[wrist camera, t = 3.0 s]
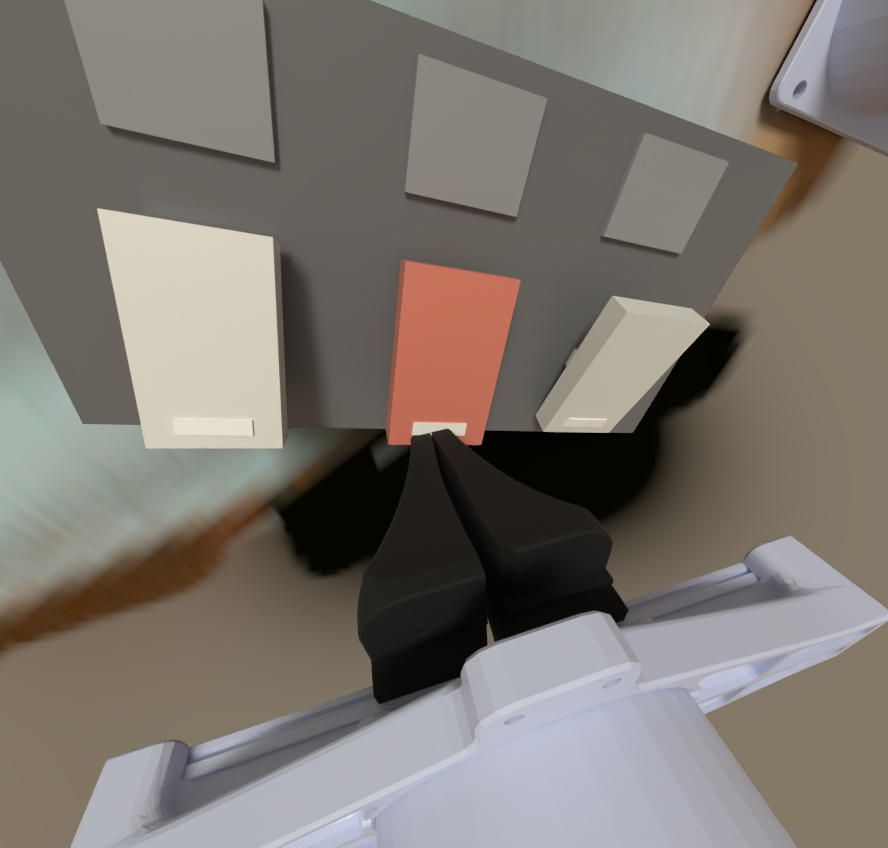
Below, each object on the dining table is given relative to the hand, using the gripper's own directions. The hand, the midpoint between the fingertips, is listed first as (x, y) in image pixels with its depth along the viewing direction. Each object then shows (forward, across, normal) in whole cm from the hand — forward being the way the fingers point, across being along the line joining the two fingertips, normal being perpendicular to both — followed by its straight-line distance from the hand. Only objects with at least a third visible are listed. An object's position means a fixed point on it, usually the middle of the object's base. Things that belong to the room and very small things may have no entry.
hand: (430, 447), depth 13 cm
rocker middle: (+1, -1, -3) cm, 4 cm away
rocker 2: (+1, -8, -2) cm, 8 cm away
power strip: (+5, +1, -6) cm, 8 cm away
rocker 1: (+1, +6, -5) cm, 8 cm away
